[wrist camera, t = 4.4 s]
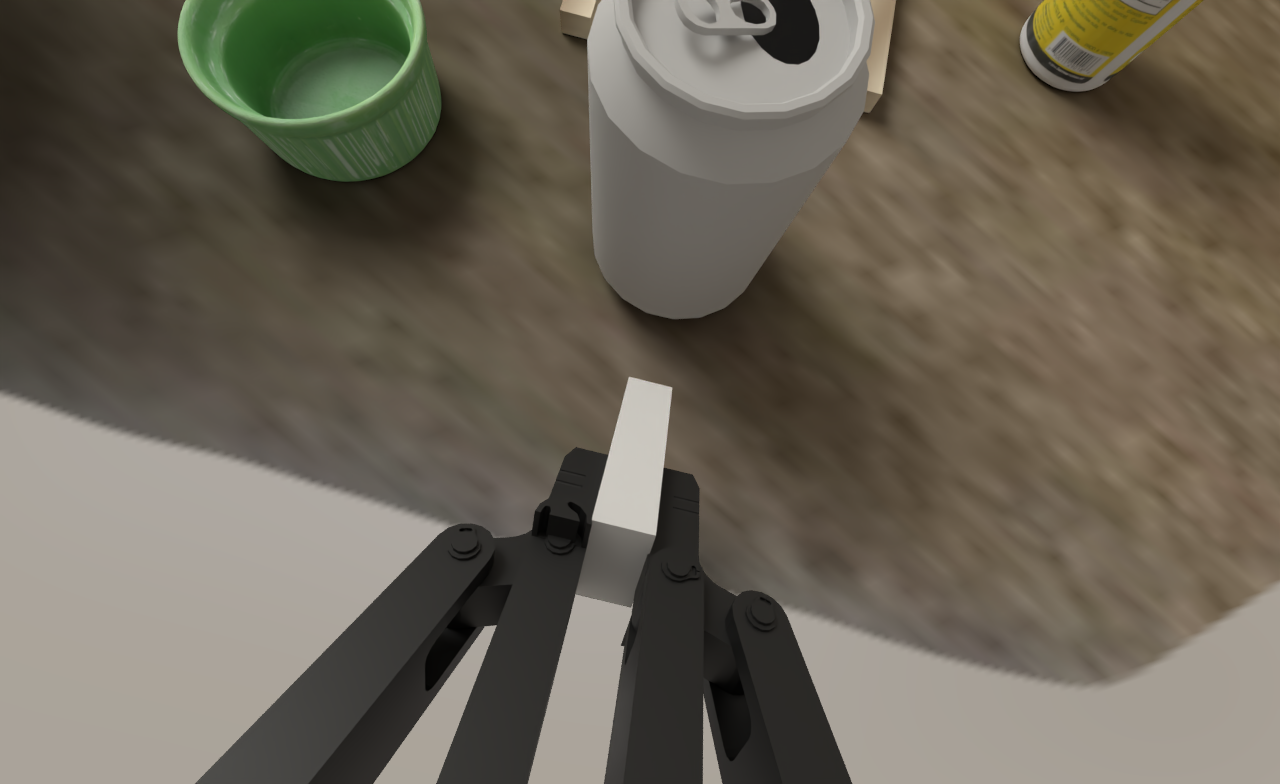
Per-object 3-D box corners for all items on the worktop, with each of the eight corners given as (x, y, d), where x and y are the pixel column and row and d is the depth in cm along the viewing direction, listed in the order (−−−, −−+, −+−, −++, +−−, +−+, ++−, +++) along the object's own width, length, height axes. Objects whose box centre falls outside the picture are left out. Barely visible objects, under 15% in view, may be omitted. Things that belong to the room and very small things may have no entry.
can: (774, 307, 23) (955, 106, 11) (614, 342, 22) (630, 163, 10) (728, 164, 24) (846, -146, 13) (576, 192, 23) (552, -116, 12)
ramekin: (483, 64, 25) (458, -28, 20) (409, 221, 23) (365, 156, 18) (306, 7, 25) (245, -97, 20) (218, 160, 23) (128, 79, 18)
